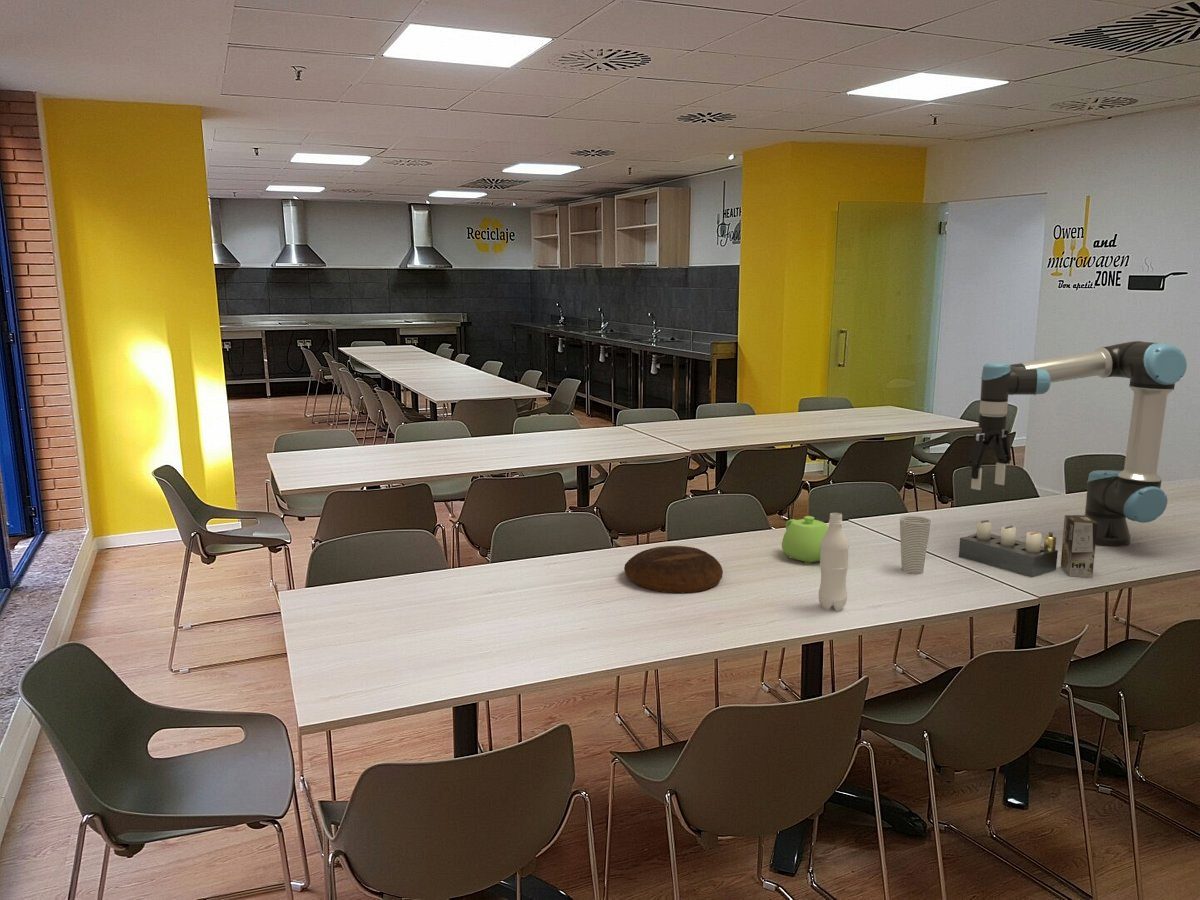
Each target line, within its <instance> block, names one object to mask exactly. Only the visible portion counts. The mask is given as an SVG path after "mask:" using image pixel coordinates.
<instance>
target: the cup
mask: <svg viewBox="0 0 1200 900" xmlns="http://www.w3.org/2000/svg"><path fill="white" fill-rule="evenodd" d="M930 528H931V519H929V518H928V517H924V516H917V515H906V516H905V515H904V516H900V518H899V530H900V531H899V533H900V534H899V535H900V536H899V537H900V556H901V558H900V561H901V562H900V563H901V571H902V572H904V573H907V574H913V575H918V574H922V573H923V572H924V567H925V564H926V563H925V561H926V555H927V549H928V542H929V536H930V530H931V529H930Z"/></svg>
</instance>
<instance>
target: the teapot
mask: <svg viewBox="0 0 1200 900" xmlns="http://www.w3.org/2000/svg"><path fill="white" fill-rule="evenodd" d="M828 528H829V526H828V524H826V522H824V521H821V520H818V519H815V517H814V516H811V515H805V516H803V518H801V519H794V518H793V519H792V518H791V519H788V520H787V521H786V523H785V532H784V534H783V538H782V539H781V540H782V542H781V549H782V551H783V553H784V554H785V555H786V556H787V557H788V558H789V557H791V558H790V559H794V560H796V561H802V562H803V564H806V563H807V565H809V564H812V562H820V556H821V546H820V545H821V540H822V538H823V537H824V535H825V533H826V532H827V530H828Z"/></svg>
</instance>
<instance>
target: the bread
mask: <svg viewBox="0 0 1200 900" xmlns="http://www.w3.org/2000/svg"><path fill="white" fill-rule="evenodd" d="M623 568H624V574H625V575H626V577H627V578H628V579H629V580H630V581H632V582H633V583H635V584H636V585H639V586H641V587H644V588H646V589H649V588H650V589H649V590H654V591H657V590H658V591H657V592H662V591H666V592H665V593H676V592H687V593H697V591H698V592H702V591H706V590H708V589H711V588H713V587H715V586H716V585H718V584H719V583H720V582H721V580H722V577H723V574H724V572H723V571H724V570H723V566H722V565H721V563H720V561H718V560H717V558H716V557H715V556H713V555H711V554H710V553H708V552H707V551H705V550H702V549H700V548H697V547H693V546H691V547H690V546H686V545H685V546H684V545H664V546H663V545H662V546H657V547H652V548H648V549H645V550H642V551H640V552H638V553H636V554H635V555H633V556H632V557H630V558H629V559H628V560H627V562H626V563H625V564H624V567H623Z"/></svg>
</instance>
